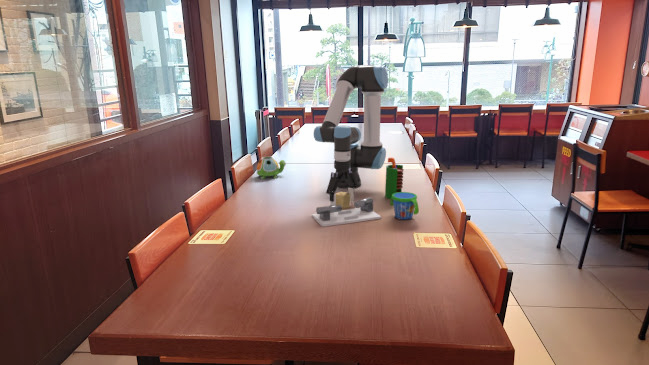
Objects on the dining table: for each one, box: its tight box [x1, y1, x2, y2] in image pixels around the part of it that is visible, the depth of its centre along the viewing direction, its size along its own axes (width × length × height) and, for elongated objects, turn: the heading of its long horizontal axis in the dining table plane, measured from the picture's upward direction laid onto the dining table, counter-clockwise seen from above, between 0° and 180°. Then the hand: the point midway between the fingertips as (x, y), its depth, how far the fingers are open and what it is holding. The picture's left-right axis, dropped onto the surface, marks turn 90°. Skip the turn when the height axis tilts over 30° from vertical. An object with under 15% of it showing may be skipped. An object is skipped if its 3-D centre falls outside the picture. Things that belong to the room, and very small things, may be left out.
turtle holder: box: [256, 156, 286, 180], centre depth 257 cm, size 12×18×12 cm
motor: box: [384, 157, 404, 200], centre depth 213 cm, size 10×9×20 cm
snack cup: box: [389, 191, 419, 220], centre depth 184 cm, size 16×10×10 cm
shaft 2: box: [353, 197, 374, 212], centre depth 190 cm, size 9×5×6 cm, turn 130°
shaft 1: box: [315, 205, 342, 221], centre depth 181 cm, size 10×5×6 cm, turn 110°
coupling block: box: [335, 191, 351, 210], centre depth 198 cm, size 5×5×7 cm
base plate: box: [311, 207, 382, 228], centre depth 186 cm, size 14×27×2 cm, turn 110°
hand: (342, 204), depth 198 cm, fingers open, 13 cm apart
